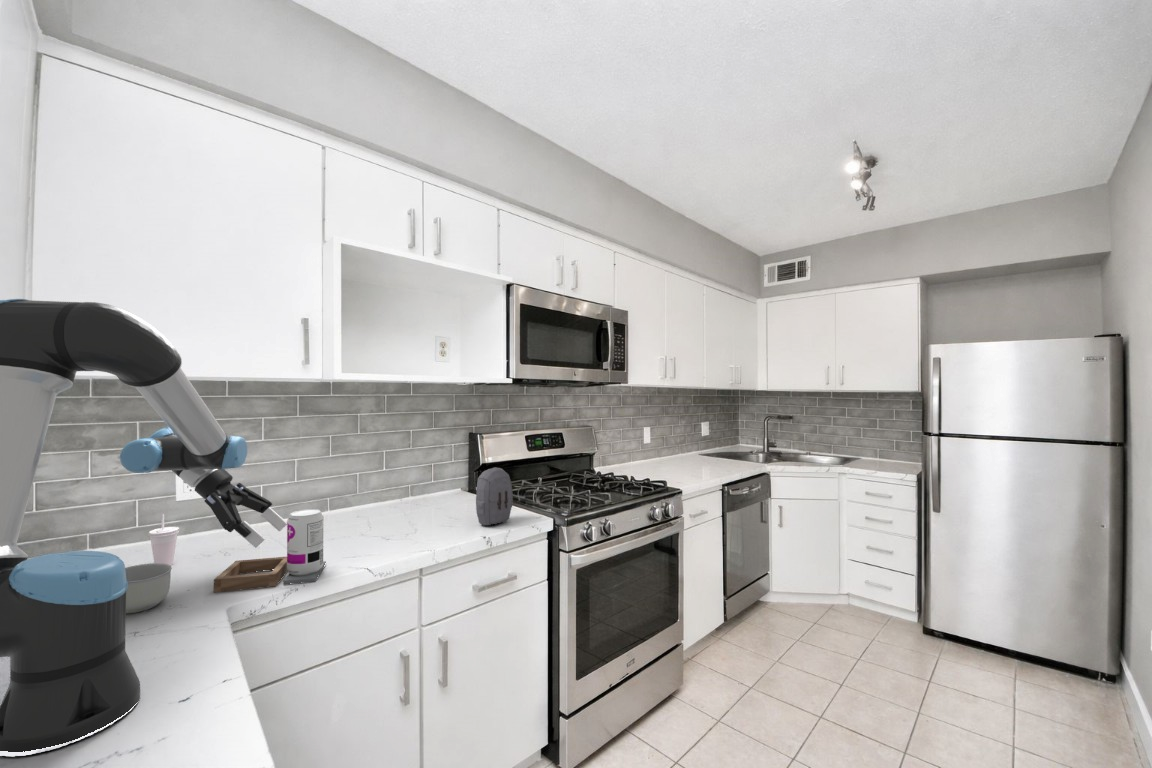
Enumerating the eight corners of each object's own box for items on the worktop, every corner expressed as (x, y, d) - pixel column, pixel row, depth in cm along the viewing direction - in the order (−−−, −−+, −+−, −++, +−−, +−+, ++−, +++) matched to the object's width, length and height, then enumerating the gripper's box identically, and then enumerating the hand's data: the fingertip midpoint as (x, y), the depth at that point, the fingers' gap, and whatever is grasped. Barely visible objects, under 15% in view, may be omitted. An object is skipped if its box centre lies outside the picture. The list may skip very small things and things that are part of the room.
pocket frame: (275, 586, 118) (275, 574, 118) (213, 592, 115) (213, 579, 115) (291, 567, 131) (291, 556, 131) (235, 572, 127) (235, 560, 127)
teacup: (165, 592, 115) (165, 558, 115) (176, 605, 108) (177, 569, 108) (81, 614, 104) (81, 576, 104) (88, 630, 97) (88, 589, 97)
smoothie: (142, 570, 128) (142, 517, 128) (158, 562, 135) (159, 511, 135) (169, 569, 129) (169, 516, 129) (184, 560, 136) (185, 510, 136)
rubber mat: (315, 581, 121) (315, 577, 121) (283, 584, 119) (283, 580, 119) (325, 564, 133) (325, 561, 133) (297, 567, 131) (297, 563, 131)
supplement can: (287, 579, 120) (287, 518, 120) (286, 568, 127) (286, 511, 127) (324, 572, 125) (324, 513, 125) (321, 562, 132) (321, 507, 132)
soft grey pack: (503, 517, 181) (503, 463, 182) (519, 521, 176) (519, 466, 176) (471, 526, 170) (471, 469, 170) (487, 530, 164) (487, 471, 165)
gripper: (222, 479, 134) (281, 531, 136) (162, 500, 109) (236, 563, 112) (243, 459, 135) (302, 511, 137) (189, 475, 110) (262, 538, 113)
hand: (273, 535), depth 125 cm, fingers open, 13 cm apart
